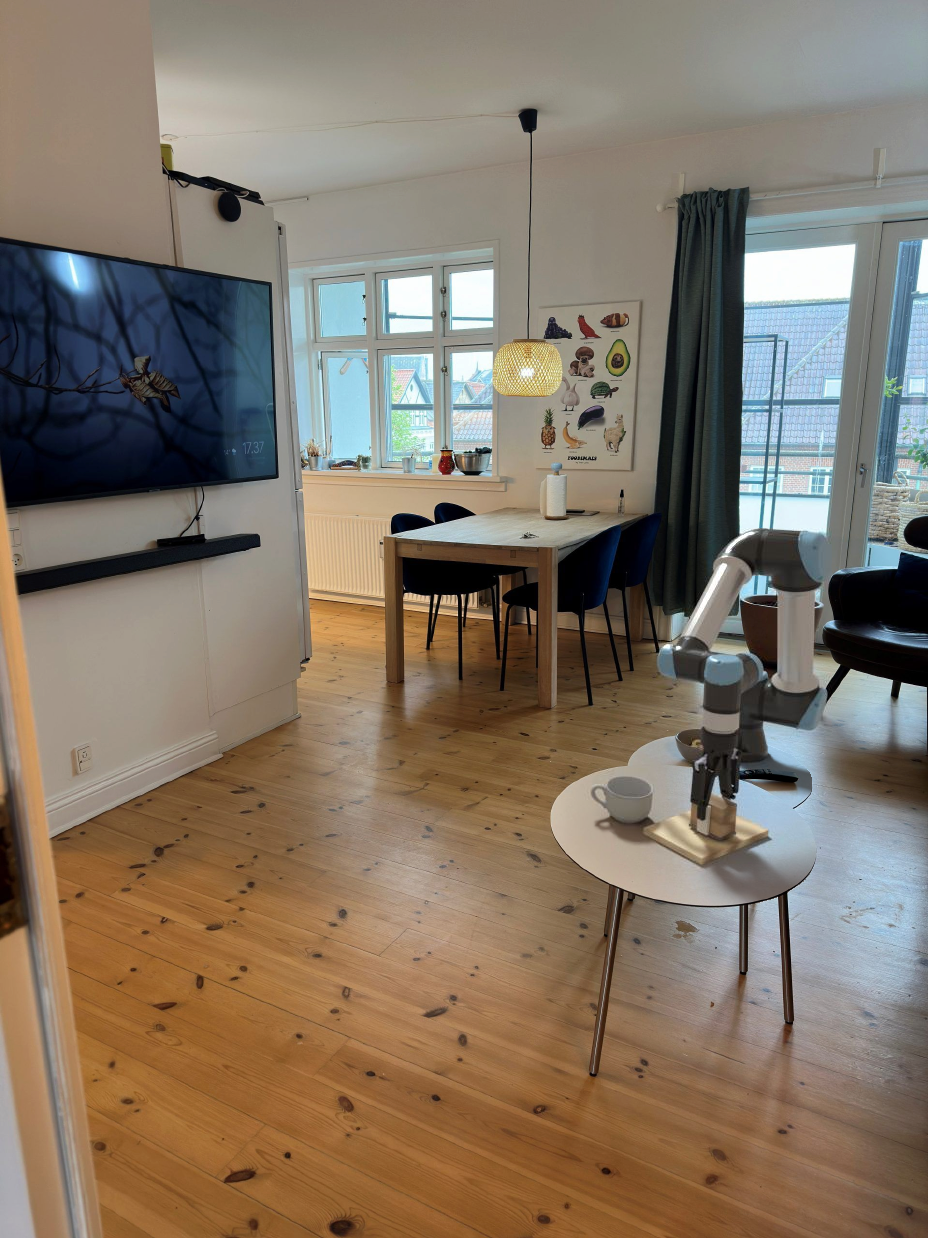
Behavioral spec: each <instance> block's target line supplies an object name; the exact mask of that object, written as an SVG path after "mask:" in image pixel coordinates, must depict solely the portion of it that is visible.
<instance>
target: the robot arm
mask: <svg viewBox="0 0 928 1238" xmlns="http://www.w3.org/2000/svg"><path fill="white" fill-rule="evenodd" d="M712 565H713V567H712V571H713V573H712V576H711V577H710V578H709V581H708V582H707V585H706V587H705V589H704V590H703V593H702V595H701V596H700V599H699V600H698V602H697V604H696V606H695V608H694V609H693V611H692V614H691V615H690V618H689V620H687V624H686V626H685V628H684V629H683V631H682V633H681V634H680V637H679V638H678V640H677V642H676V644H674V643H671V644H669V643H667V644H664V645H663V646H662V647H661V648H660V649H659V652H658V655H657V661H656V663H657V668H658V672H659V674H661V675H662V676H664V677H667V678H671V679H675V680H682V681H689V682H691V683H699V684H703V697H702V699H703V700H702V716H701V729H700V738H699V739H700V740H699V742H700V744H701V745H702V748H703V751H702V754H701V757H700V758H699V759H698V760H697V759H693V760H692V761H691V766H692V778H691V788H690V789H691V790H690V797H689V799H690V801H689V802H690V803H691V804H692V803H693V804H695V805H697V831H699V832H701V833H703V834H705V835H709V827H710V814H711V806H709V805H708V804H709V800H710V797H711V793H712V791H713V789H714V788H713V787H714V784H715V780H716V778H718V785H719V790H720V794H719V795H718V796H719V797H722V798H724V799H727V800H729V801H731V802H732V800H733V801H734V800H736V798H737V796H736V795H735V794H738V793H739V790H740V789H739V787H740V773H741V772H740V770H741V769H740V768H741V762H744V763H747V762H748V763H749V762H750V763H752V762H753V763H754V762H759V761H762V760H765V759H766V758H767V757H768V751H769V745H768V744H767V740H766V735H765V730H764V723H769V724H774V725H780V726H784V727H787V728H793V729H795V730H804V731H813V730H815V729H816V728H817V727H818V726H819V723H820V722H821V719H822V717H823V714H824V711H825V709H826V708H825V707H826V703H827V698H828V691H827V689H826V688H824V687H820V679H819V677H818V676H817V675H816V674H814V655H815V654H814V652H815V651H814V649H815V648H814V647H815V643H814V642H815V610H816V609H815V607H816V606H815V605H816V603H815V602H816V592H817V590H819V589H820V588H822V585H823V582H826V581H827V580H828V579H829V577H830V574H831V570H832V569H831V566H832V550H831V546H830V542H829V539H827V537H826V536H825V535H824V534H823V533H820V532H813V531H808V530H790V529H774V528H765V527H764V528H763V527H761V528H760V527H759V528H755V529H751V530H748V531H745V532H743V533H741V534H740V535H738V536H737V537H735V538H734V539H732V540H731V541H729V543H727V545H726V546H724V547H723V549H722V550H721V551H720V552H719V553H718V555H717V556H716V558H715V560H714V562H713V564H712ZM755 576H762V577H770V585H771V587H772V589H774V590H775V591H776V592H777V672H776V673H775V674H773V675H772V677H771V678H769V675H768V672H767V671H765V670H764V665H763V663H762V661H761V660H760V658H758V656H757V655H755V654H753V653H750V652H739V653H736V654H730V653H724V652H717V651H712V648H713V647H714V644H715V642H716V640H717V637H718V636H719V634H720V631H721V629H722V628H723V626H724V624H725V622H726V620H727V618H728V616H729V614H730V612H731V610H732V608H733V606H734V604H735V602H736V600H737V597H738V596H739V594H740V592H741V590H742V587H743V586H744V585H746V584H748V583H749V582H750V581H751V579H752V577H755ZM712 794H713V793H712Z"/></svg>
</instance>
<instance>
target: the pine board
mask: <svg viewBox="0 0 928 1238" xmlns="http://www.w3.org/2000/svg"><path fill="white" fill-rule="evenodd" d="M690 819H691V809H690V810H688V811H685V812H683V813H679V814H677V815H675V816H672V817H669V818H666V819H663V820H661V821H658V822H656V823H653V824H650V825H647V826H644V827H643V835H645V836H647V837H648V838H649V839H652V840H654V841H656V842H658V843H660V844H661V845H663V846H665V847H666V848H668V849H671V850H672V851H675V852H676V853H678V854H680V855H682V856H684V857H685V858H687V859H689V860H691V861H692V862H695V863H697V864H699V865H700V866H702V865H704V864H707V863H710V862H712V861H713V860H715V859H716V860H717V859H718V858H721V857H722V856H725V855H728V854H730V853H732V852H735V851H737V850H739V849H741V848H744V847H746V846H748V845H751V844H753V843H755V842H758V841H760V840H762V839H765V838H767V837H769V834H770V833H769V831H770V830H769V829H768V828H766V827H763V826H762V825H759V824H757V823H755V822H753V821H750V820H749V819H746V818H744V817H742V816H739V815H737V814H736V826H735V831H736V835H733V836H731V837H728V838H726V839H723V840H721V841H719V840H717V839H715V838H713V837H711V836H709V835H705V834H703V833H701V832H699V831H697V830H696V829H694V828H692V827H690V826H689V823H690Z"/></svg>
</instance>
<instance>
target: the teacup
mask: <svg viewBox="0 0 928 1238" xmlns="http://www.w3.org/2000/svg"><path fill="white" fill-rule="evenodd" d="M598 789H599V790H601V791H602V792H603V795H604V796H605V797H604V798H605V800H604V799H602V798H600V797H599V796H598V795H597V794H596V792H595V791H596V790H598ZM653 793H654V786H653V785H652V783H650V782H649V781H647V780H646V779H644V778H641V777H637V776H634V775H633V776H632V775H617V776H613V777H611V778H610V779H608V780H607V782H606V783H605V784H602V783H596V784H595V783H594V785H592V786H591V788H590V796H591V797H592V799H593V800H594V802H596V803H598V804H599V805H601V806H602V807H603V809H605V810H606V811H607V812H608V814H609V815H610V816H611V817H613V818H614V819H615V820H616V821H618V822H620V823H625V824H636V823H639V822H641V821H642V820H644V819H646V818H647V817H648V816H649V815H650V814H651V811H652V806H653V805H652V803H653Z"/></svg>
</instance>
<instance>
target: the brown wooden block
mask: <svg viewBox="0 0 928 1238" xmlns="http://www.w3.org/2000/svg"><path fill="white" fill-rule="evenodd" d="M708 805H709V806H711V814H710V827H709V836H711V837H713V838H715V839H717V840H719V841H721V840H723V839H726V838H728V837H731V836H733V835H736V831H735V826H736V815H737V811H738V804H737V802H734V801H732V800H731V801H729V800H727V799H724V798H722V797H719V795H717V794H715V793H711V797H710V800H709V804H708ZM690 807H691V808H690V810H691V819H690V823H689V826H690V827H692V828H694V829H696V830H697V805H695V804H693V803H691V805H690Z"/></svg>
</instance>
